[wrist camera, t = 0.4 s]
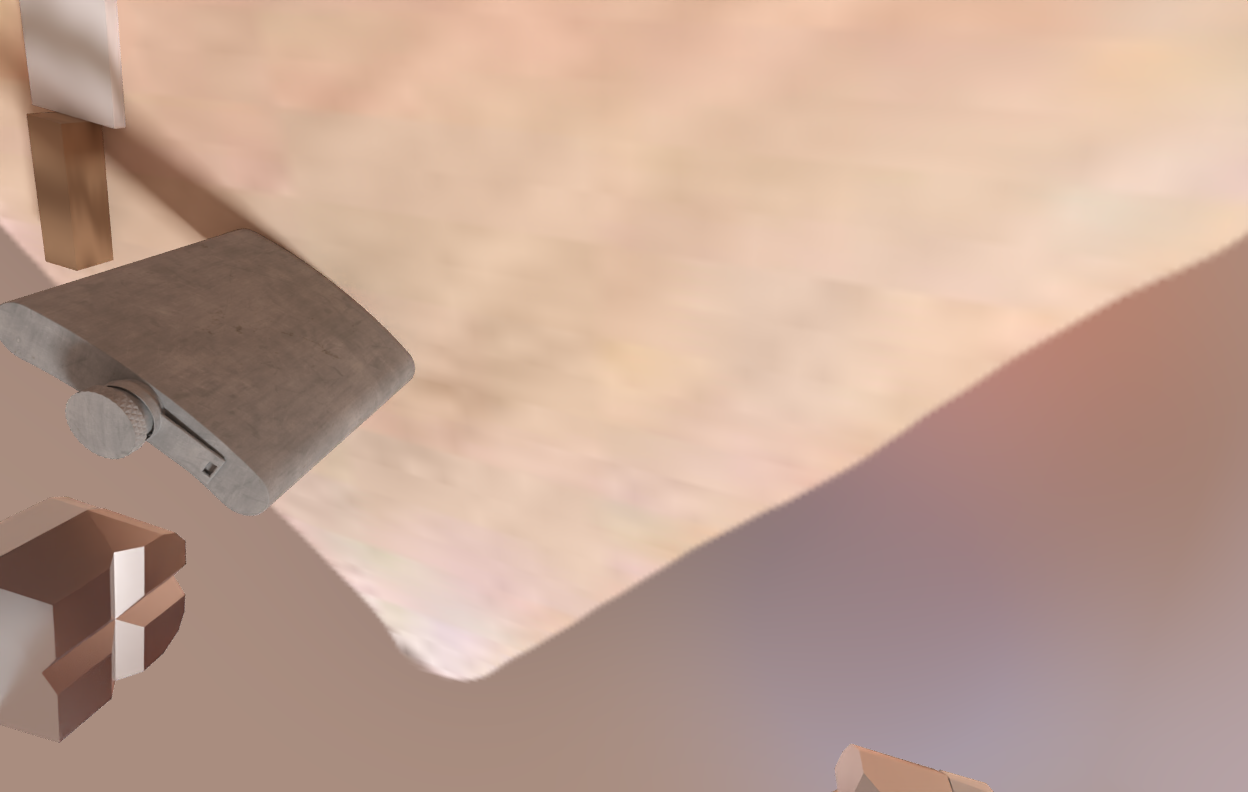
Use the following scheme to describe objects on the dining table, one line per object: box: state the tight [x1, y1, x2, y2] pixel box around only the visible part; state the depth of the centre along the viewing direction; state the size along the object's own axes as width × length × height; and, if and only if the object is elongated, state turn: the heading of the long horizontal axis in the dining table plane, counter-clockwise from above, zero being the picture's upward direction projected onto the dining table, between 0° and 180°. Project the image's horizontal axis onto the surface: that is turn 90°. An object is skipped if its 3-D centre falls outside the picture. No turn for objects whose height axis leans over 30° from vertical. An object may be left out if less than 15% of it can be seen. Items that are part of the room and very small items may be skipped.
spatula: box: [19, 0, 126, 271], centre depth 48 cm, size 18×6×3 cm, turn 166°
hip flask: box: [0, 229, 415, 516], centre depth 43 cm, size 16×4×20 cm, turn 51°
